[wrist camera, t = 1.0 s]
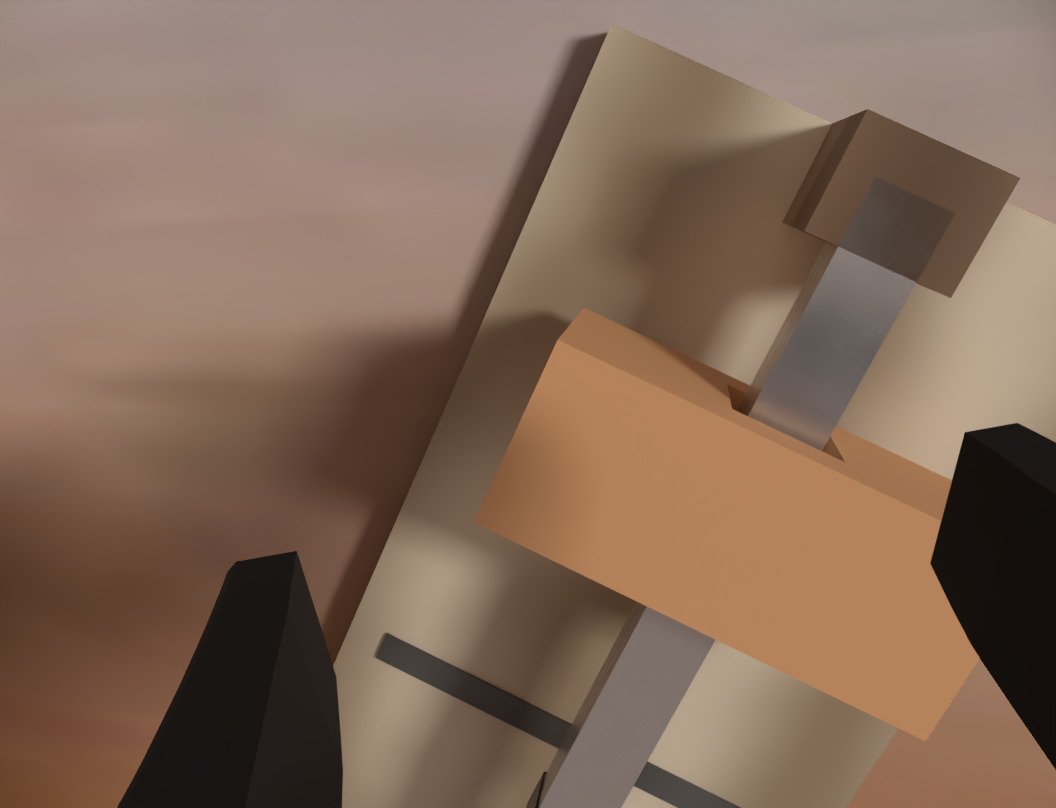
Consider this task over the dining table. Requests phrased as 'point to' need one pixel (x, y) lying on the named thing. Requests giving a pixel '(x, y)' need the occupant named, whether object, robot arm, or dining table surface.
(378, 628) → the board
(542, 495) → the collar
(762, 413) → the rod
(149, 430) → the dining table surface
